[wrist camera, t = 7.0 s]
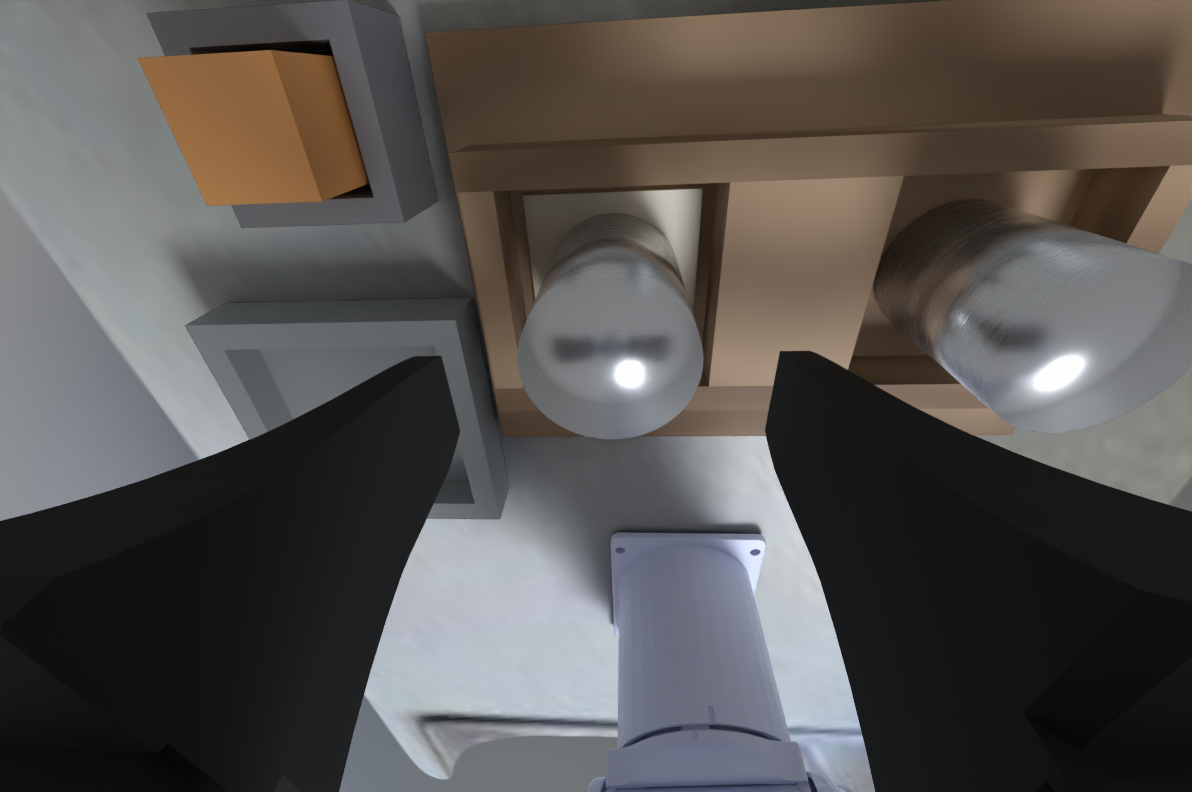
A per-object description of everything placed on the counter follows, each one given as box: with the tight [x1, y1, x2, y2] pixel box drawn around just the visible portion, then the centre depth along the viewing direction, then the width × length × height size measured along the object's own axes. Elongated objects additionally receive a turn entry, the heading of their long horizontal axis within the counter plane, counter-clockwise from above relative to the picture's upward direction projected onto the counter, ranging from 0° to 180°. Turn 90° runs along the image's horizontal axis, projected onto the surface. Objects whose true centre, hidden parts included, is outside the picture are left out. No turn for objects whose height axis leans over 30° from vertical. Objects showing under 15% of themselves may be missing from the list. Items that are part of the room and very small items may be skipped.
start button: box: [138, 50, 370, 206], centre depth 12 cm, size 3×3×3 cm
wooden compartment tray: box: [425, 0, 1192, 437], centre depth 16 cm, size 14×21×3 cm, turn 93°
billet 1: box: [517, 213, 703, 439], centre depth 14 cm, size 4×4×6 cm
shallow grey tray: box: [185, 298, 509, 519], centre depth 20 cm, size 10×10×2 cm
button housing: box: [147, 0, 438, 228], centre depth 14 cm, size 5×5×3 cm
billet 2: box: [874, 199, 1192, 433], centre depth 13 cm, size 4×4×6 cm
